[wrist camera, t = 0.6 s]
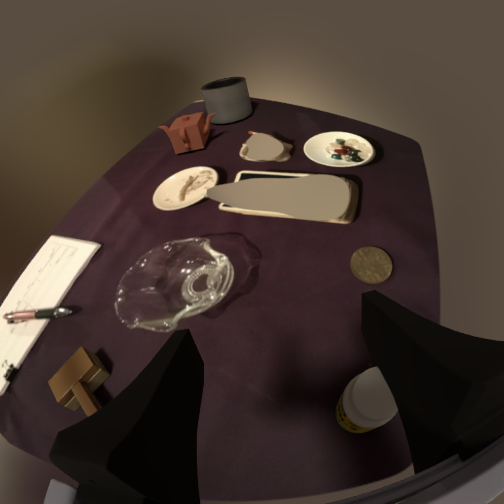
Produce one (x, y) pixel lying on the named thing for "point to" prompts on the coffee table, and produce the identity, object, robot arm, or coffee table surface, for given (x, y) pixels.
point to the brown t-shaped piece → (79, 381)
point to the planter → (227, 100)
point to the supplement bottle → (366, 403)
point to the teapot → (189, 132)
